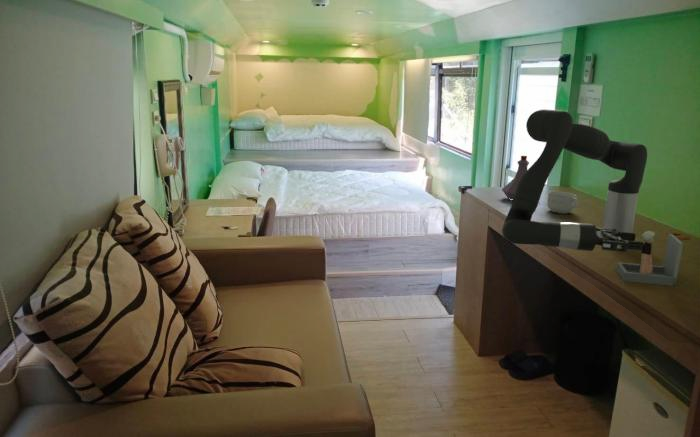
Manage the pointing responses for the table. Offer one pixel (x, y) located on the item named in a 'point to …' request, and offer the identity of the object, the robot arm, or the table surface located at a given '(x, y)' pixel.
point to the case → (656, 267)
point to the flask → (516, 178)
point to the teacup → (562, 202)
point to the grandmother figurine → (647, 253)
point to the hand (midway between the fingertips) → (638, 241)
